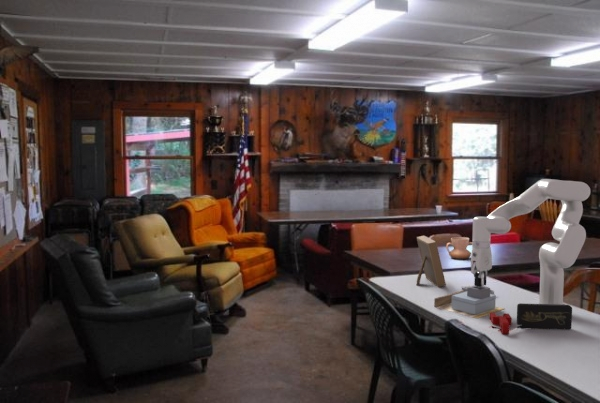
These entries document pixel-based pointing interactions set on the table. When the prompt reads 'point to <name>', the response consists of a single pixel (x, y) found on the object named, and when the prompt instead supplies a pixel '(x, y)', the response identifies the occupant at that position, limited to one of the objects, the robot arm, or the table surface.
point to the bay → (446, 304)
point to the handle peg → (482, 281)
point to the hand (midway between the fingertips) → (480, 285)
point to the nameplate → (544, 316)
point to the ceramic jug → (459, 248)
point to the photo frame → (430, 261)
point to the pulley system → (484, 286)
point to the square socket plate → (474, 300)
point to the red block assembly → (501, 322)
